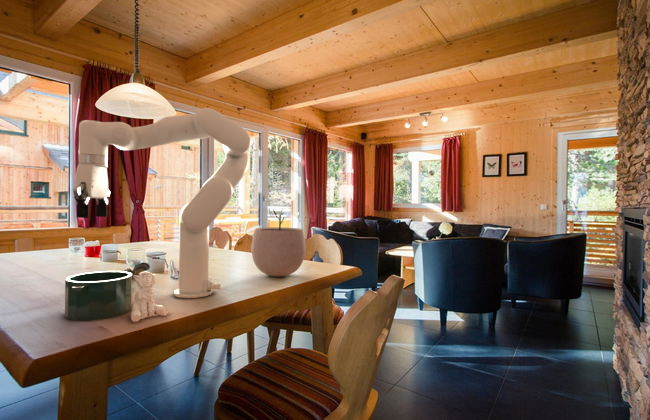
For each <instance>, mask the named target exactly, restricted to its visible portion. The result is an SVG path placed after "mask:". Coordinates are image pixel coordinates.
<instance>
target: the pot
mask: <svg viewBox="0 0 650 420" xmlns="http://www.w3.org/2000/svg"><path fill="white" fill-rule="evenodd" d="M64 283H65V284H64V316H65V318H66V319H68V320H72V321H95V320H104V319H110V318H114V317H119V316H122V315H124V314H126V313H128V312H130V311H132V309H131V308H132V305H133V302H132V298H133V296H132V295H133V294H132V293H133V280H132V273H129V272H124V271H122V270H117V271H116V270H106V271H105V270H104V271H92V272H84V273H79V274H74V275H70V276H68V277H66V278H65V281H64Z"/></svg>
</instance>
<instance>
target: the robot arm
mask: <svg viewBox="0 0 650 420" xmlns="http://www.w3.org/2000/svg"><path fill="white" fill-rule="evenodd" d="M209 138H212V139H213V140H215V141H216V142H218V143H220V144H221V145H222V149H223V151H224V154H225V156H224V157H225V158H224V159H223V162H222V163H221V164H220V166H219V167H218V168H217V170H216V171H215V172H214V173H213V174H212V175H211V177H209V178H208V179H207V180H206V181H205V182H204V183H203V185H202V186H201V187H200V189H199V190H198V191H197V193H195V195H194V196H193V197H192V198H191V199H190V201H189V202H188V203H187V204H184V206H183V207H182V208H181V210H180V212H179V248H178V249H179V250H178V251H179V255H178V269H179V270H178V288H177V289H175V290H174V291H173V296H174V297H176V298H180V299H197V298H204V297H207V296H210V295H212V294H213V293H214V290H221V287H222V286H221V285H222V284H221V283H219V282H212V279H211V278H209V266H210V265H209V261H210V260H209V257H210V225H211V224H212V223H213V222H214V221H215V220H216V218H217V217H218V216H219V215H220V213H221V212H222V211H223V210H224V209H225V208H226V206H227V205H228V204H229V203H230V201H231V199H232V197H233V193H234V189H236V187H237V185H238V184H239V183H240V182H241V180H242V179H243V178H244V176H245V175H246V173H247V171H248V168H249V163H250V159H249V152H248V151H249V149H250V148H251V146H252V138H251V135H250V134H249V132H248V131H247V130H246V129H245V128H244V127H242V126H241V125H239V124H237V122H234V121H232V120H231V119H230V118H229V117H226V116H225V115H223V114H222V113H221V112H220V111H218V110H215V109H214V108H210V107H202V108H200V109H198V111H197V112H195V113H189V114H180V115H171V116H165V117H163V118H161V119H159V120H157V121H156V122H154V123H151V124H147V125H142V126H135V127H133V126H132V125H130V124H128V123H126V122H122V121H98V120H92V119H91V120H90V119H85V120H81V121H80V122H79V125H78V165H77V167H76V171H75V178H74V187H73V189H72V192H73V195H74V196H73V197H74V200H75V205H76V218H78V219H88V218H89V217H90V204H89V201H90V200H91V199H95V201H96V204H95V216H96V217H97V218H107V217H108V205H109V200H110V195H111V191H110V189H109V177H108V168H109V163H108V162H109V145H110V146H111V145H112V146H114V147H116V149H119V150H120V151H121V150H122V151H135V150H142V149H149V148H153V147H154V148H155V147H159V146H164V145H165V146H166V145H169V144H174V143H181V142H188V141H196V140H203V139H209Z"/></svg>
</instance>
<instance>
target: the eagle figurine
mask: <svg viewBox="0 0 650 420" xmlns="http://www.w3.org/2000/svg"><path fill="white" fill-rule="evenodd" d="M150 268H151V266H150V264H149V263H148V262H141V263H138V264H135V265H134V267H133V269H132V268H130V267H127V268H126V269H124V270H123V272H129V273H132V281H134V280H135V279H134V277H133V275H137V276H139V275H140V274H141V273H143V272H148V271H149V270H150Z"/></svg>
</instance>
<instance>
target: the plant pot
mask: <svg viewBox="0 0 650 420" xmlns="http://www.w3.org/2000/svg"><path fill="white" fill-rule="evenodd" d="M283 209H284V208H281V211H280V214H279V215H277V212H276V211H275V210H274V209H272V211H273V213H274V215H275V219H276V220H277V219H278V226H277V227H273V226H272V227H271V226H270V227H269V226H268V227H256V228H254V232H253V235H252V241H251V256H252V260H253V263H254V265H255V267H256V268H257V269H258V270H259V272H261V273H263V274H265V275H266V276H270V277H280V278H281V277H287V276H290V275H291V274H294V273H295V272H297V271H298V270H299V268H300V267H301V266H302V264H303V263H304V260H305V256H306V252H307V244H306V237H305V233H304V229H303V228H299V227H298V228H297V227H282V224H283V221H284V220H285V216H283V215H284V212H283ZM282 216H283V217H282Z"/></svg>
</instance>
